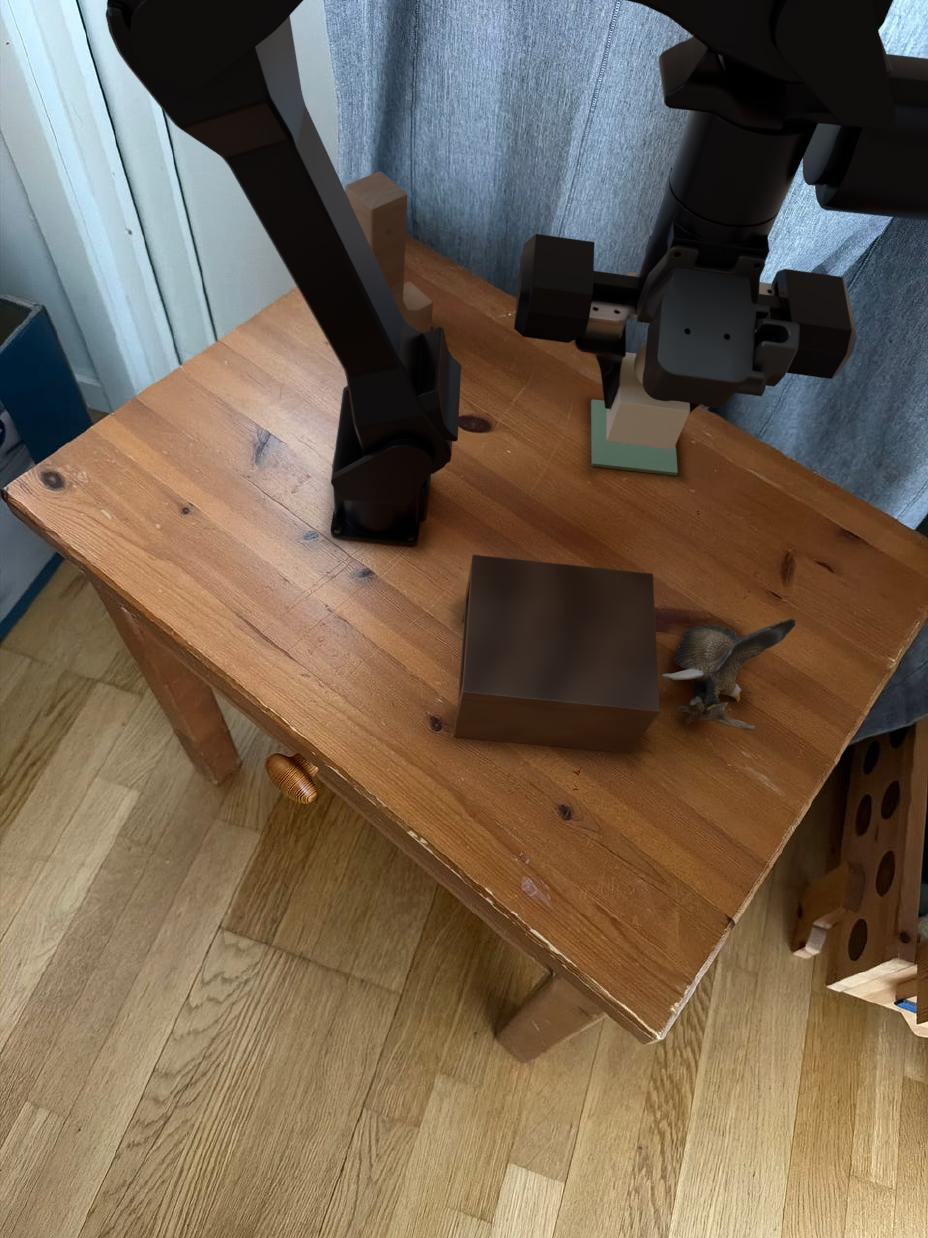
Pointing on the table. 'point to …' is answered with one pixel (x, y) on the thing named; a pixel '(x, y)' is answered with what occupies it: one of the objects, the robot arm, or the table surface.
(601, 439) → the coaster
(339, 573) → the table surface
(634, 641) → the dark brown wooden box
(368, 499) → the robot arm
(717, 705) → the eagle figurine
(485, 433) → the table surface
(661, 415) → the cream cube with ball
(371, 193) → the wooden block
